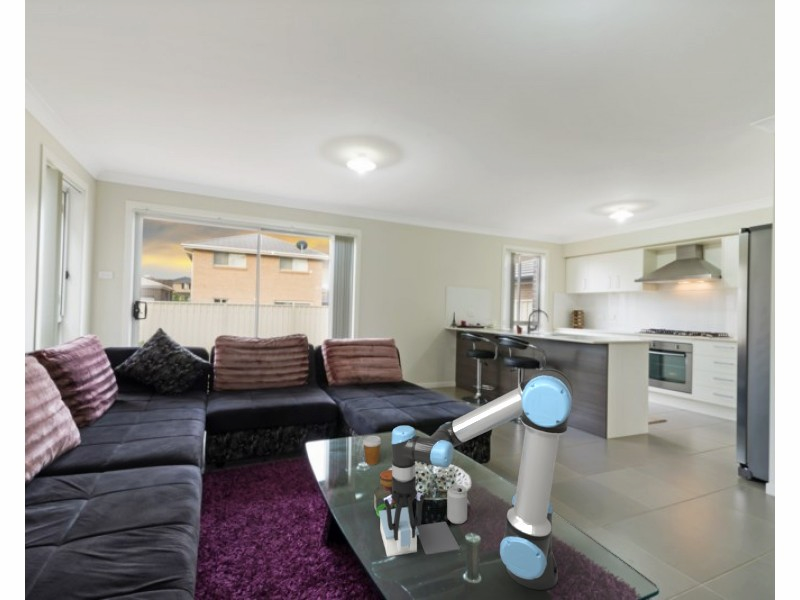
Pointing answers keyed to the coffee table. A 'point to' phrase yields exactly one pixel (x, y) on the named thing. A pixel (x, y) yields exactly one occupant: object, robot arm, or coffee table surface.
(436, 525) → the mat
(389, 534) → the lid
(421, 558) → the coffee table surface
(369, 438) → the disposable coffee cup
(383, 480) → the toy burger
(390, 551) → the tub
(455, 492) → the can
